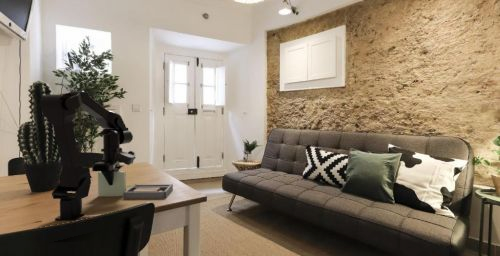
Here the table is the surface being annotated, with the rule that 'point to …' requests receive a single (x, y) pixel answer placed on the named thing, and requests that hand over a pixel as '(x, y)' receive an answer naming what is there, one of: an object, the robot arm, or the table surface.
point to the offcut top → (146, 190)
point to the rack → (158, 194)
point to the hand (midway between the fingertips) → (112, 184)
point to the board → (116, 188)
